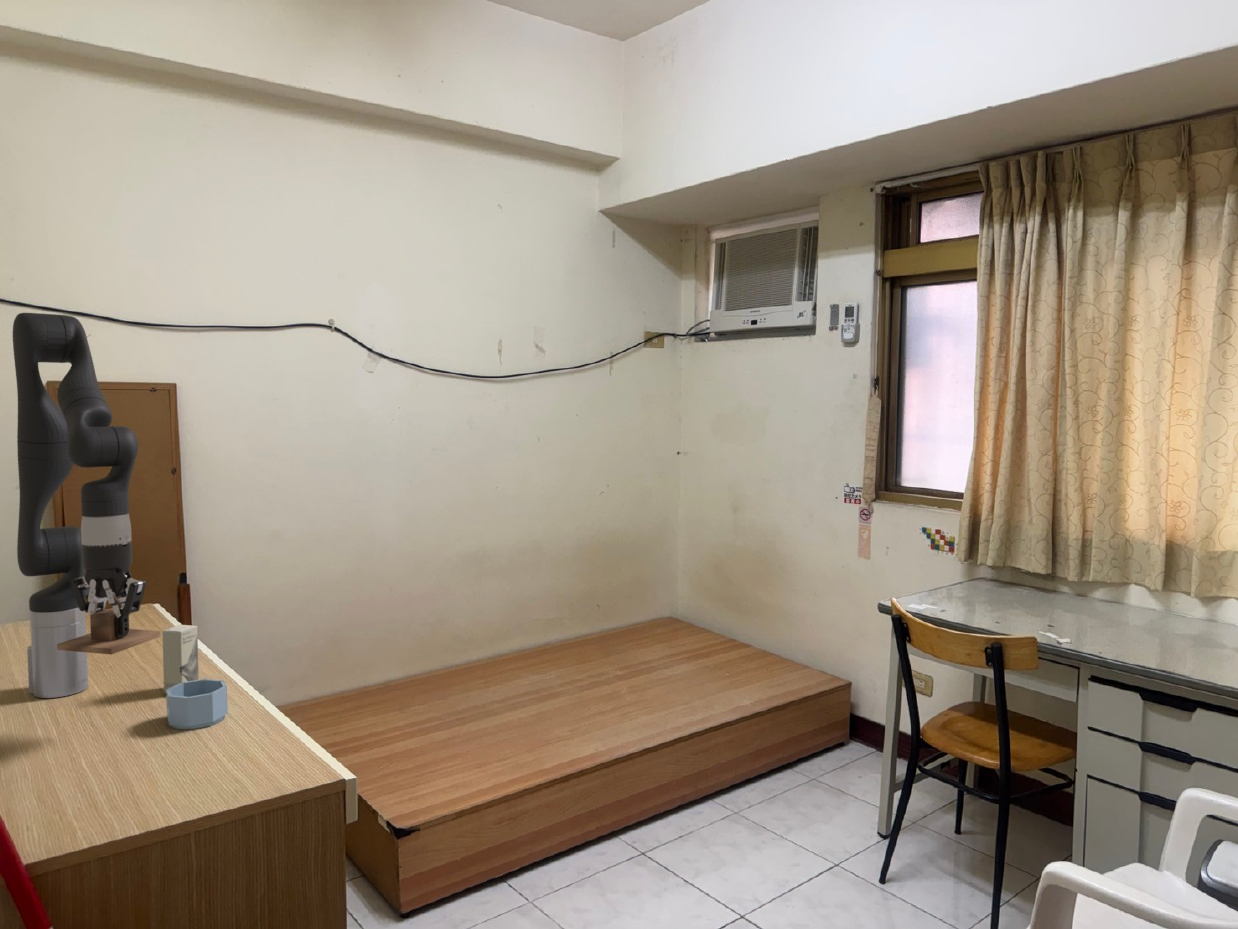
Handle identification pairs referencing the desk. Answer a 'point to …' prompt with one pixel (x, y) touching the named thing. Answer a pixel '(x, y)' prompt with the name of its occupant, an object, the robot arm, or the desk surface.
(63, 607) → the robot arm
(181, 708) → the bowl
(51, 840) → the desk surface
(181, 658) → the box
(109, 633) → the lid
